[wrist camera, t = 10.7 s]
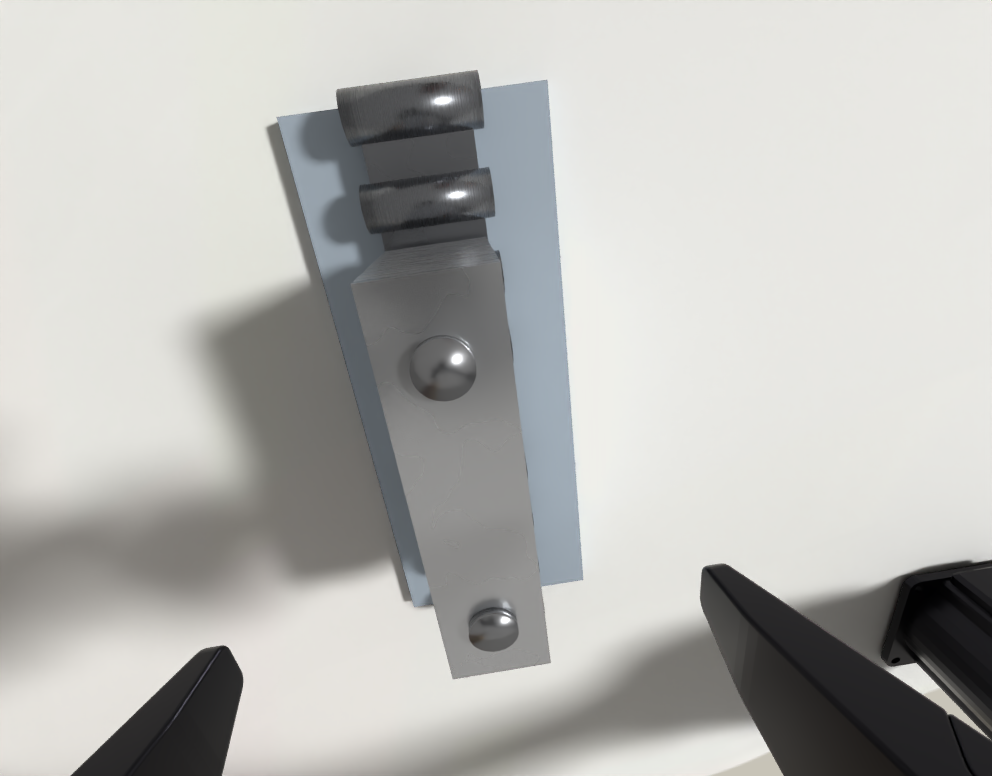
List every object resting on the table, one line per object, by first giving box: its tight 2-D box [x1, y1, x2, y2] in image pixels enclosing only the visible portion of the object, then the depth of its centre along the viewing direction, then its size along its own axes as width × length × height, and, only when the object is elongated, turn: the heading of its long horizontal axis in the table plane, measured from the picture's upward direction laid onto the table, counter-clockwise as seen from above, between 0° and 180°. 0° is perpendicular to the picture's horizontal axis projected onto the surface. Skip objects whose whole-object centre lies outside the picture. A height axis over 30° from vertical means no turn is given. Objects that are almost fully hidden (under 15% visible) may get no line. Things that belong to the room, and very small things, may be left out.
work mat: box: [277, 80, 583, 607], centre depth 18 cm, size 20×8×1 cm, turn 7°
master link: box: [350, 237, 551, 679], centre depth 14 cm, size 12×3×5 cm, turn 7°
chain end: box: [336, 70, 514, 363], centre depth 15 cm, size 9×4×2 cm, turn 7°
